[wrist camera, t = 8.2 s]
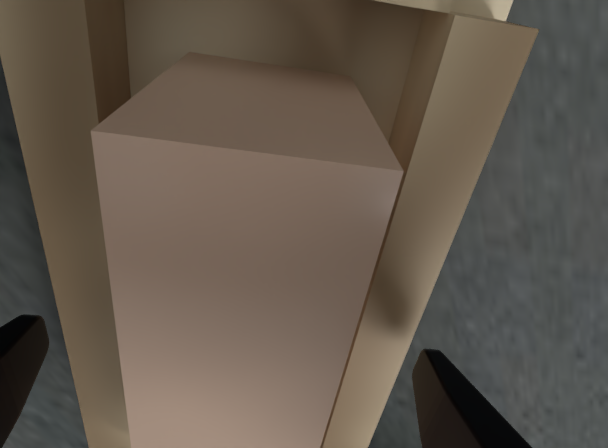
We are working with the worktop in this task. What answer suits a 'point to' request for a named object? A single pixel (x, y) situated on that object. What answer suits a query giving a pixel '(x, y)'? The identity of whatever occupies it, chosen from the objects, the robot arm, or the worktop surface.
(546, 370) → the worktop surface
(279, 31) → the tray
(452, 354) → the worktop surface
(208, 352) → the clay bar
